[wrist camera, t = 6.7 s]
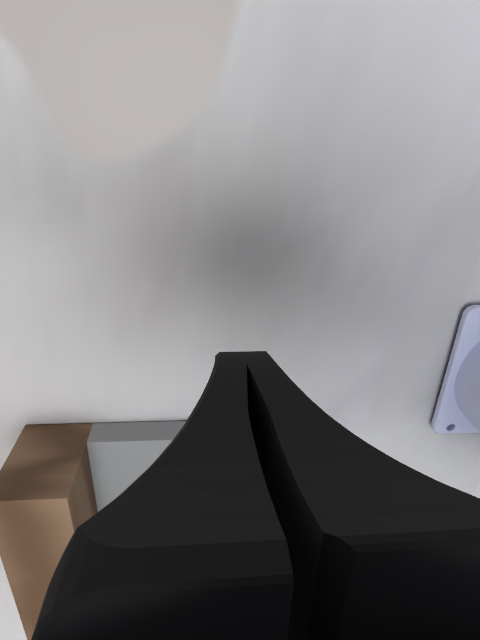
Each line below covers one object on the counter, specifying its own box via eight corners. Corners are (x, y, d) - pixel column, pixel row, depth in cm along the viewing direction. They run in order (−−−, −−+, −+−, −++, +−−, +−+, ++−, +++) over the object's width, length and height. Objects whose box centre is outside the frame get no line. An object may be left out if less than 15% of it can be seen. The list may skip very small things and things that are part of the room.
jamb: (93, 423, 23) (67, 498, 19) (117, 586, 29) (102, 672, 25) (25, 425, 23) (-18, 501, 18) (64, 589, 29) (39, 676, 24)
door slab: (294, 417, 24) (307, 462, 21) (277, 576, 30) (285, 629, 27) (93, 423, 23) (76, 470, 20) (117, 586, 29) (107, 641, 26)
